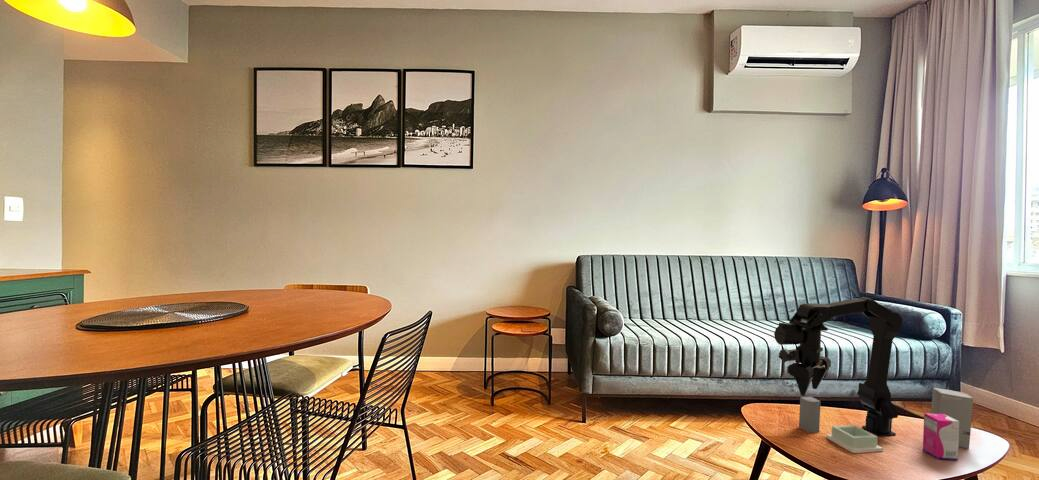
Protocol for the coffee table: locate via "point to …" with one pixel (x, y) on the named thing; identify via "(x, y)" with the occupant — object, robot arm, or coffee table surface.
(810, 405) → the peg
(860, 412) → the coffee table surface
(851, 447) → the socket block
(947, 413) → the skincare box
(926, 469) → the coffee table surface
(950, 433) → the supplement box
